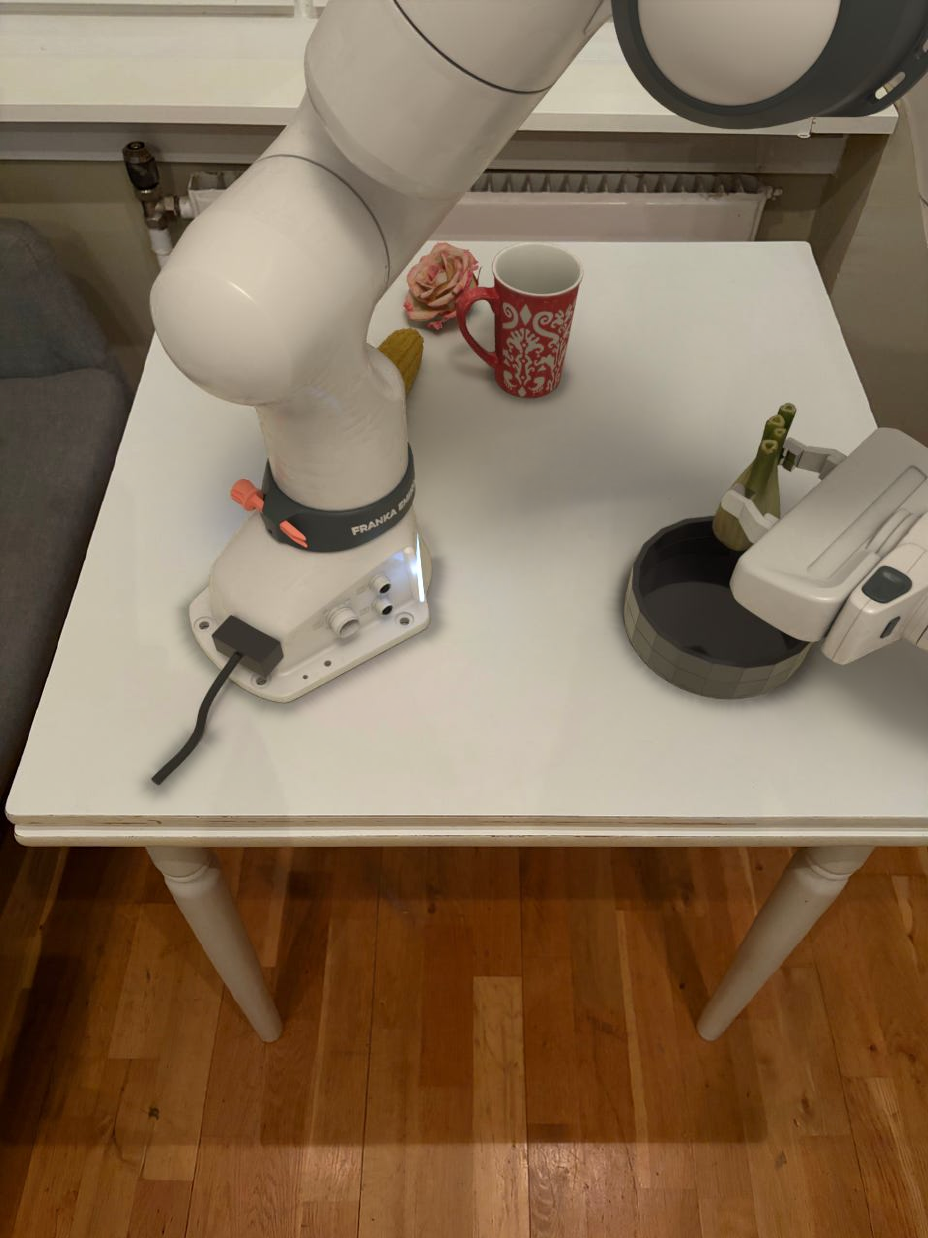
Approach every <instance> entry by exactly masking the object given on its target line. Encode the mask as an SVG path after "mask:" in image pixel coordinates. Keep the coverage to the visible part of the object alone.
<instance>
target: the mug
mask: <svg viewBox="0 0 928 1238" xmlns="http://www.w3.org/2000/svg"><path fill="white" fill-rule="evenodd" d="M491 272H492V275H493V286H490V287H489V286H478V287H473V288H471V289H469V290H467V291H466V292H464V293H463V294H462V295H461V297H460V298H459V301H458V303H457V308H456V316H455V318H456V323H457V327H458V329H459V332H460V334H461V336H462V337H463V339H464V340H465V342H466V343H467V345H468V346H469V348H470V349H472V351H473V352H474V353H475V354H476V355H477V356H478V357H479V358H480V359H481V360H482V361H483V362H485V363H486V364H487V365H488V366H489V367H490V368H491V369H493V371H494V372H493V373H494V379H495V381H496V383H497V385H498V386H499V387H500V388H501V390H503V391H505V392H506V393H508V394H510V395H512V396H516V397H519V398H526V399H530V398H532V399H533V398H535V399H536V398H540V397H544V396H547V395H549V394H551V393H552V392H554V391H555V390H556V389H557V388H558V386H559V385H560V382H561V379H562V374H563V368H564V364H565V358H566V354H567V349H568V344H569V340H570V333H571V330H572V324H573V321H574V320H573V318H574V314H575V310H576V305H577V299H578V294H579V289H580V285H581V284H582V282H583V279H584V267H583V264H582V262H581V260H580V259H579V257H577V256H576V255H575V254H574V253H573V252H571V251H570V250H568V249H567V248H564V247H563V246H560V245H557V244H554V243H549V242H542V241H526V242H520V243H515V244H512V245H509V246H507V247H504V248H503V249H501V250H500V251H499V252H498V253H497V254H496V255H495V256H494V257H493V260H492V263H491ZM479 301H486V302H487V303H488V304H489V306H490V309H491V311H492V313H493V316H494V317H493V318H494V319H493V321H494V323H493V324H494V325H493V327H494V330H493V331H494V332H493V333H494V335H493V336H494V350H493V351H488V350H487V349H486V348H484V347H483V346H482V345H481V344H480V343H479V342H478V341H477V340H476V339H475V338H474V337H473V336H472V334H471V333H470V331H469V329H468V326H467V314H468V312H469V311H468V309H469V307H471V305H472V306H473V304H475V303H476V302H479Z"/></svg>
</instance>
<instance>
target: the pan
mask: <svg viewBox="0 0 928 1238" xmlns="http://www.w3.org/2000/svg"><path fill="white" fill-rule="evenodd" d="M714 517H715V515H706V516H698V517H697V516H696V517H687V518H684V519H682V520H679V521H676V522H673V523H671V524H669V525H666V526H664V527H662V528H660V529H659V530H658V531H657V532H656V533H654V534H653V535H652V536H651V537H650V538H649V539H648V540H646V541H645V542H644V543H643V544H642V546H641V548H640V550H639V552H638V554H637V556H636V557H635V559H634V562H633V564H632V568H631V572H630V576H629V579H628V584H627V588H626V592H625V596H624V597H625V598H624V605H623V617H624V618H623V620H624V627H625V631H626V633H627V636H628V639H629V641H630V644H631V645H632V647H633V649H634V651H635V652H636V653H637V654H638V656H639V658H640V659H641V660H642V661H643V662H644V663H645V664H646V665H647V667H648V668H650V669H651V670H652V671H653V672H654V673H655V674H656V675H657V676H659V677H660V678H662V679H663V680H665V681H667V682H668V683H670V684H671V685H673V686H675V687H677V688H679V689H680V690H681V689H682V690H684V691H686V692H689V693H691V694H695V695H698V696H702V697H706V698H713V699H720V700H721V699H722V700H741V699H742V700H743V699H749V698H753V697H757V696H759V695H763V694H766V693H768V692H770V691H773V690H775V689H776V688H778V687H779V686H781V685H782V684H784V683H785V682H786V681H787V680H789V678H791V677H792V676H793V674H795V672H796V671H797V670H798V669H799V667H800V666H801V665H802V664H803V662H804V660H805V658H806V657H807V654H808V653H809V651H810V649H811V647H812V646H813V644H814V643H815V641H812V642H810V641H803V640H799V639H797V638H794V637H792V636H790V635H788V634H786V633H784V632H782V631H781V630H779V629H777V628H775V627H774V626H772V625H771V624H769V623H767V622H766V621H764V620H762V619H761V618H759V617H758V616H756V615H755V614H753V613H752V612H750V611H749V610H748V609H746V608H745V607H743V606H742V605H741V604H740V603H738V602H737V601H736V599H735V598H734V596H733V593H732V591H731V588H730V580H731V577H732V574H733V571H734V569H735V566H736V564H737V562H738V560H739V558H740V557H741V556H742V555H743V554H744V553H745V552H746V551H747V550H743V551H736V550H733V549H731V548H728V547H727V546H726V545H724V543H723V542H721V541H720V540H719V539H718V538H717V537H716V536H715V534H714V531H713V528H712V525H713V519H714Z"/></svg>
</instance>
